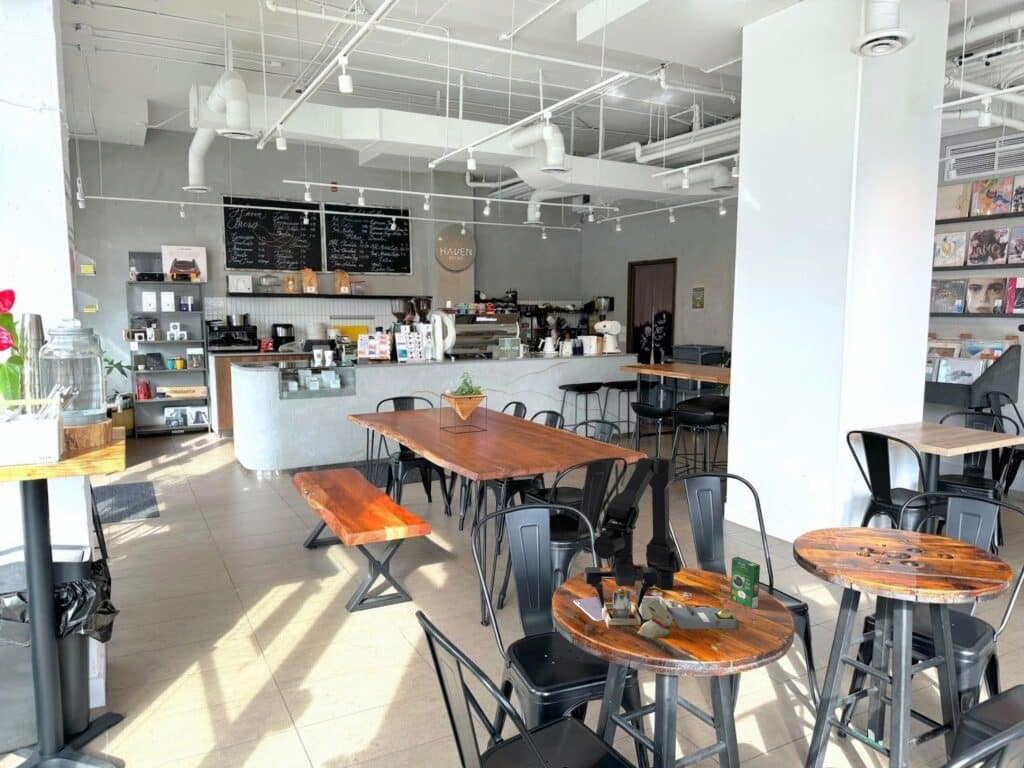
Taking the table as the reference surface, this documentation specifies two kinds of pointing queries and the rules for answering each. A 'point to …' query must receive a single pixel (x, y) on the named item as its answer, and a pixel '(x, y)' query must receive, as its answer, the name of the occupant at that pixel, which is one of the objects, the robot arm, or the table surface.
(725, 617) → the button
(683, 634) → the table surface
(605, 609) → the beige shallow rectangular frame
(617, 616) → the cylinder
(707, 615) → the grey board with socket
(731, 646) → the table surface
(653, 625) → the chocolate bunny
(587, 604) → the mobile phone
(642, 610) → the cup
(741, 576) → the coffee box
